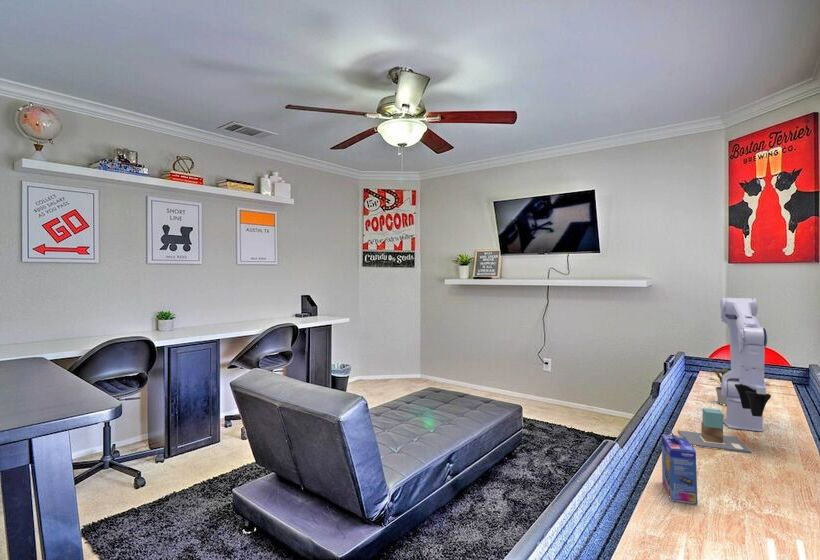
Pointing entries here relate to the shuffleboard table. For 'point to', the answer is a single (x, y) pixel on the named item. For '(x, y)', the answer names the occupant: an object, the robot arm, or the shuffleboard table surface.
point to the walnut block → (711, 434)
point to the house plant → (718, 390)
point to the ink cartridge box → (679, 468)
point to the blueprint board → (728, 442)
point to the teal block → (713, 418)
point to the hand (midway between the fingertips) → (751, 412)
